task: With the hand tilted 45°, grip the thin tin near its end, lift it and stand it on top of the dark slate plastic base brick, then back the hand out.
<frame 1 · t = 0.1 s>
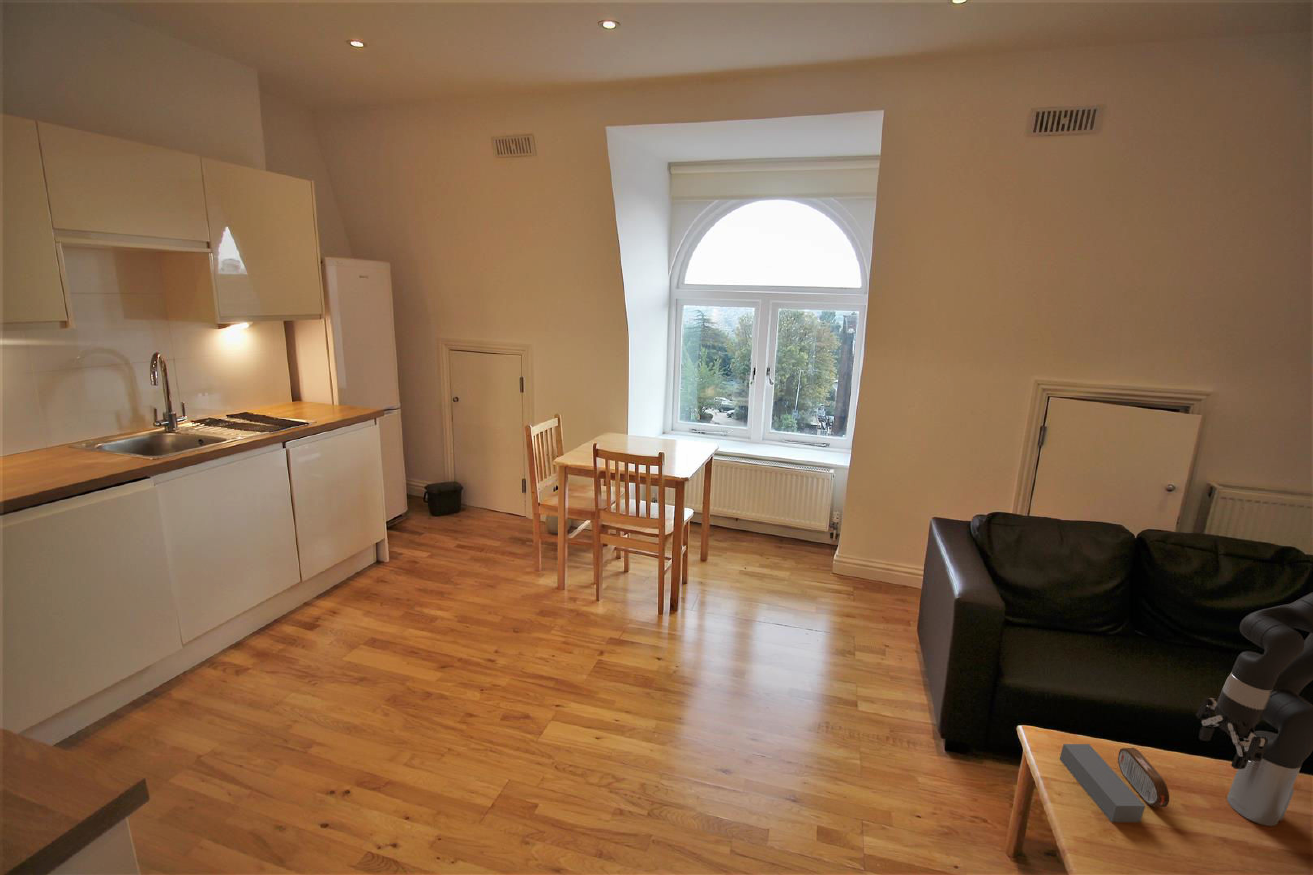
hand: (1219, 753, 144), 17 cm above the table, tool pointing down, fingers open, 8 cm apart
tin: (1137, 789, 155), on the table
base brick: (1097, 788, 155), on the table
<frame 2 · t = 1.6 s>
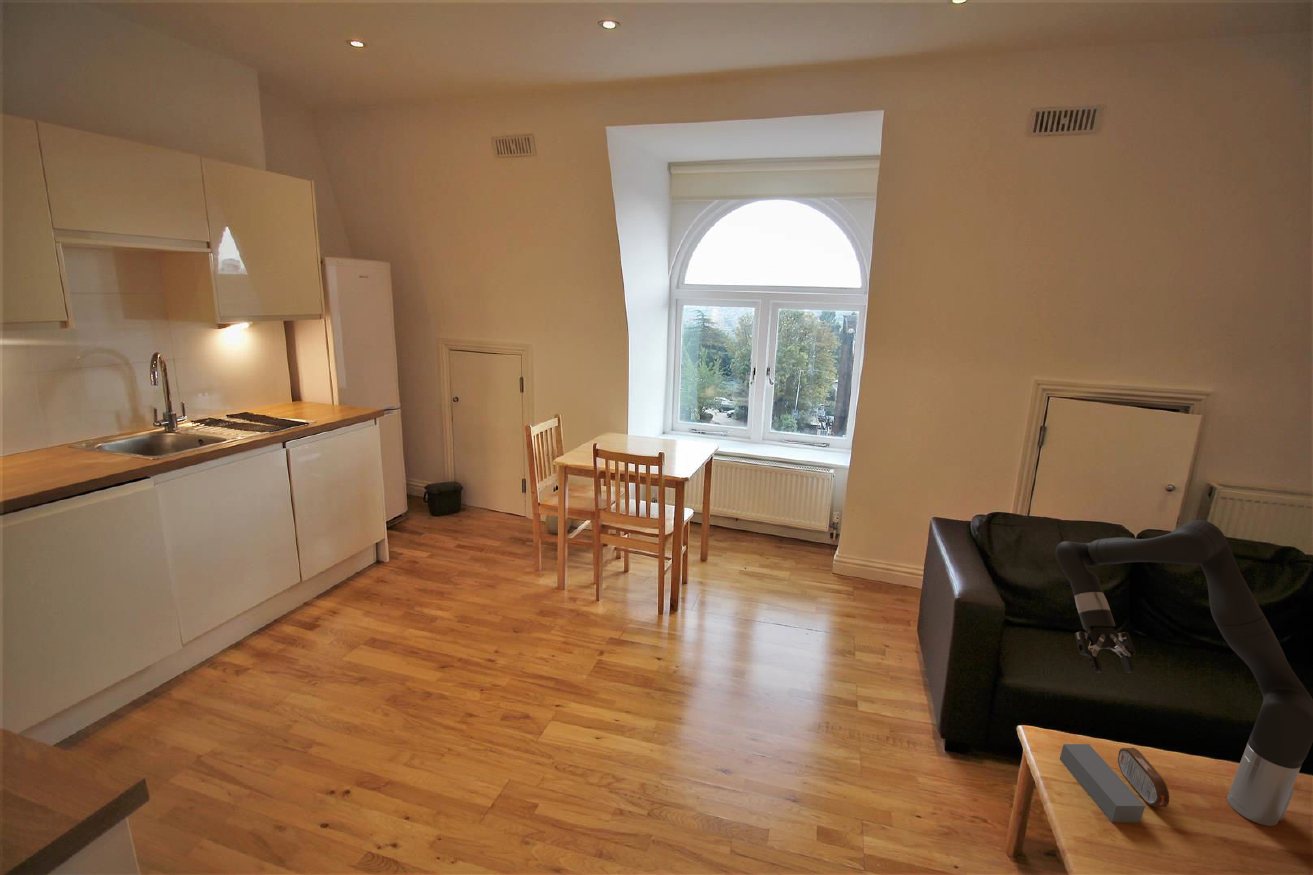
hand: (1114, 672, 163), 23 cm above the table, tool tilted 45°, fingers open, 8 cm apart
nothing on the table moved.
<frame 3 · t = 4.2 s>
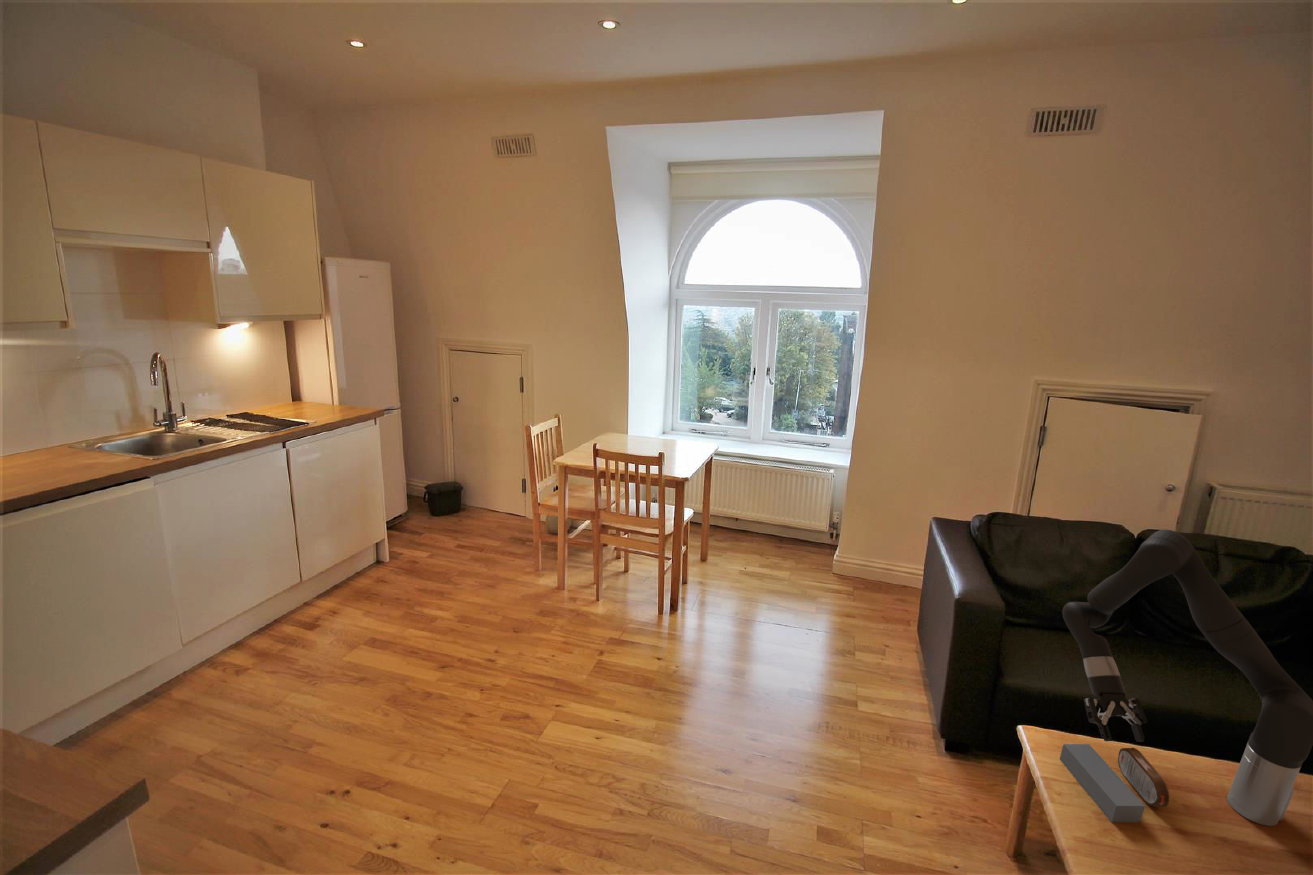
hand: (1124, 741, 159), 8 cm above the table, tool tilted 45°, fingers open, 8 cm apart
nothing on the table moved.
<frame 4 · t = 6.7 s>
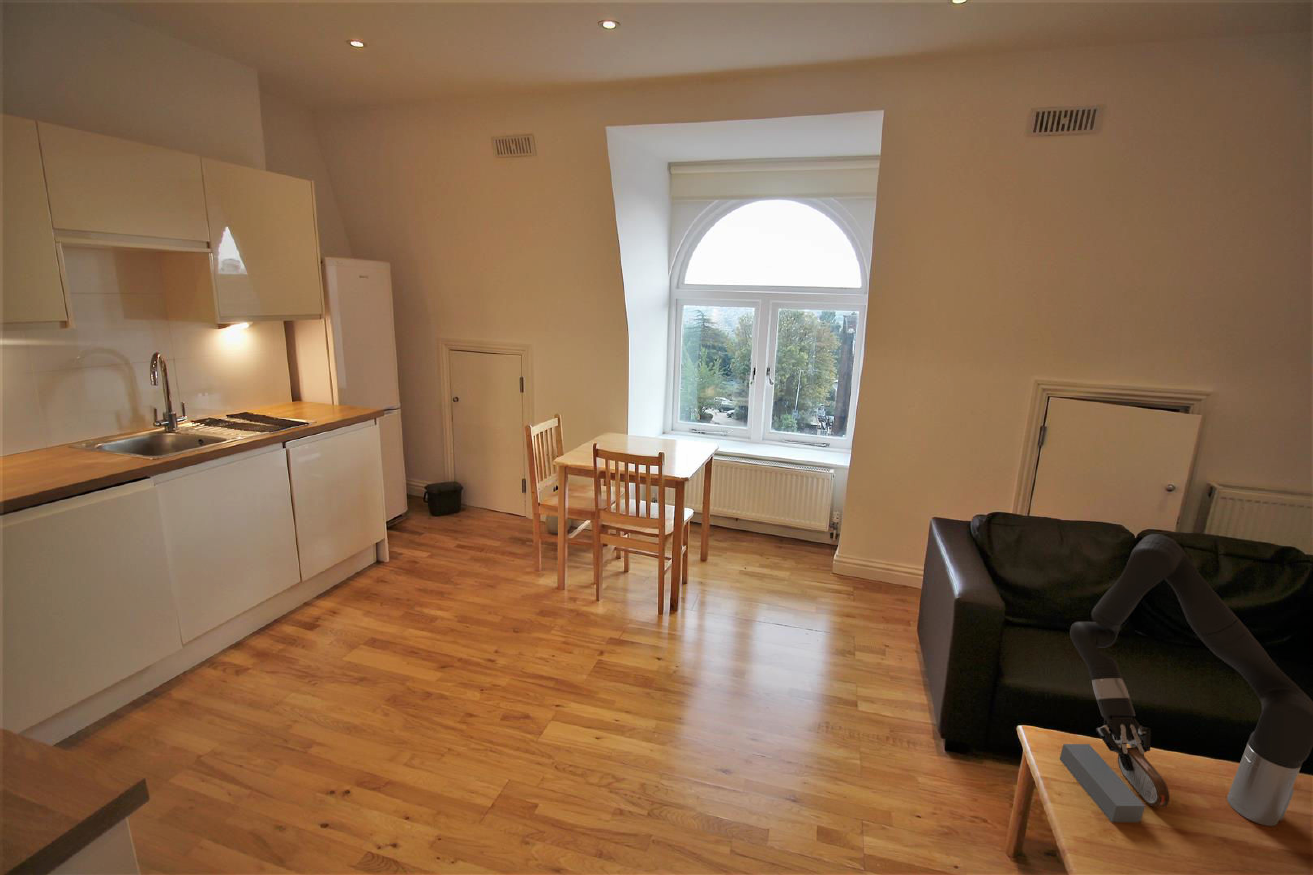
hand: (1136, 770, 155), 4 cm above the table, tool tilted 45°, fingers closed on tin, 3 cm apart
tin: (1137, 789, 155), on the table, touching gripper
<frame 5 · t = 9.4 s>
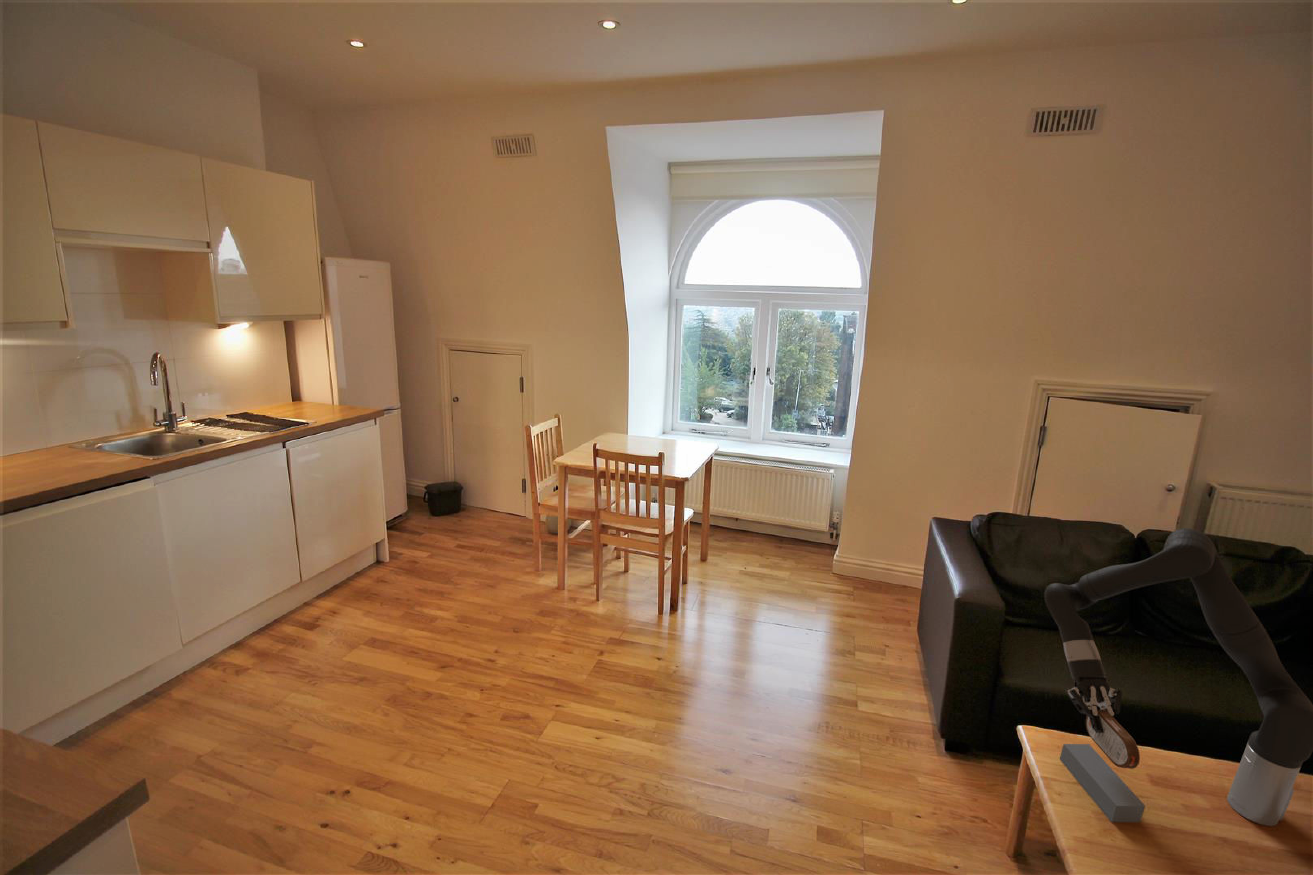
hand: (1105, 732, 152), 16 cm above the table, tool tilted 45°, fingers closed on tin, 2 cm apart
tin: (1105, 751, 152), point 11 cm above the table, touching gripper
when the fingers open (10 cm above the table, at t = 11.2 s): tin drops 1 cm, resting on base brick.
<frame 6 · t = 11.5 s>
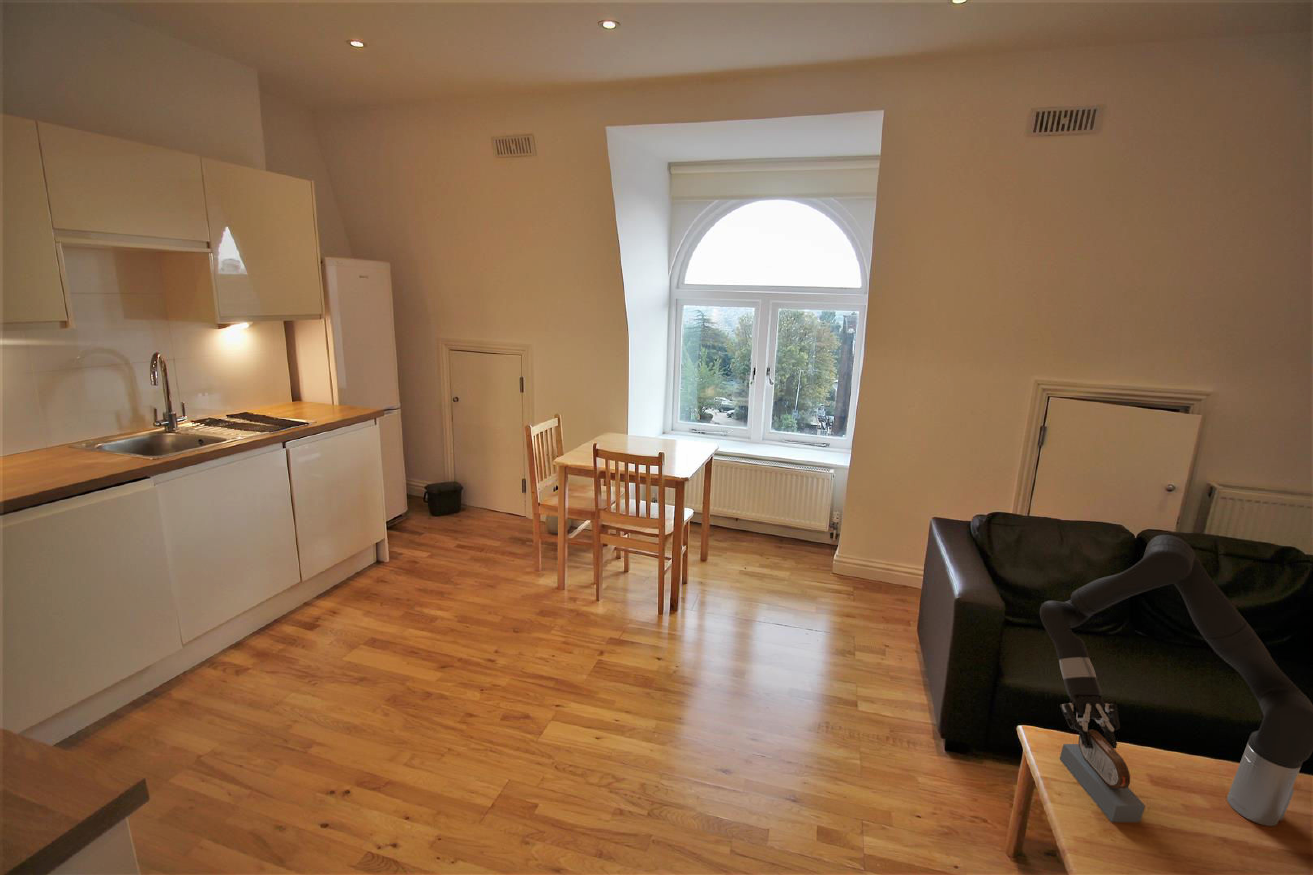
hand: (1101, 748, 154), 11 cm above the table, tool tilted 45°, fingers open, 5 cm apart
tin: (1098, 771, 154), point 5 cm above the table, touching base brick
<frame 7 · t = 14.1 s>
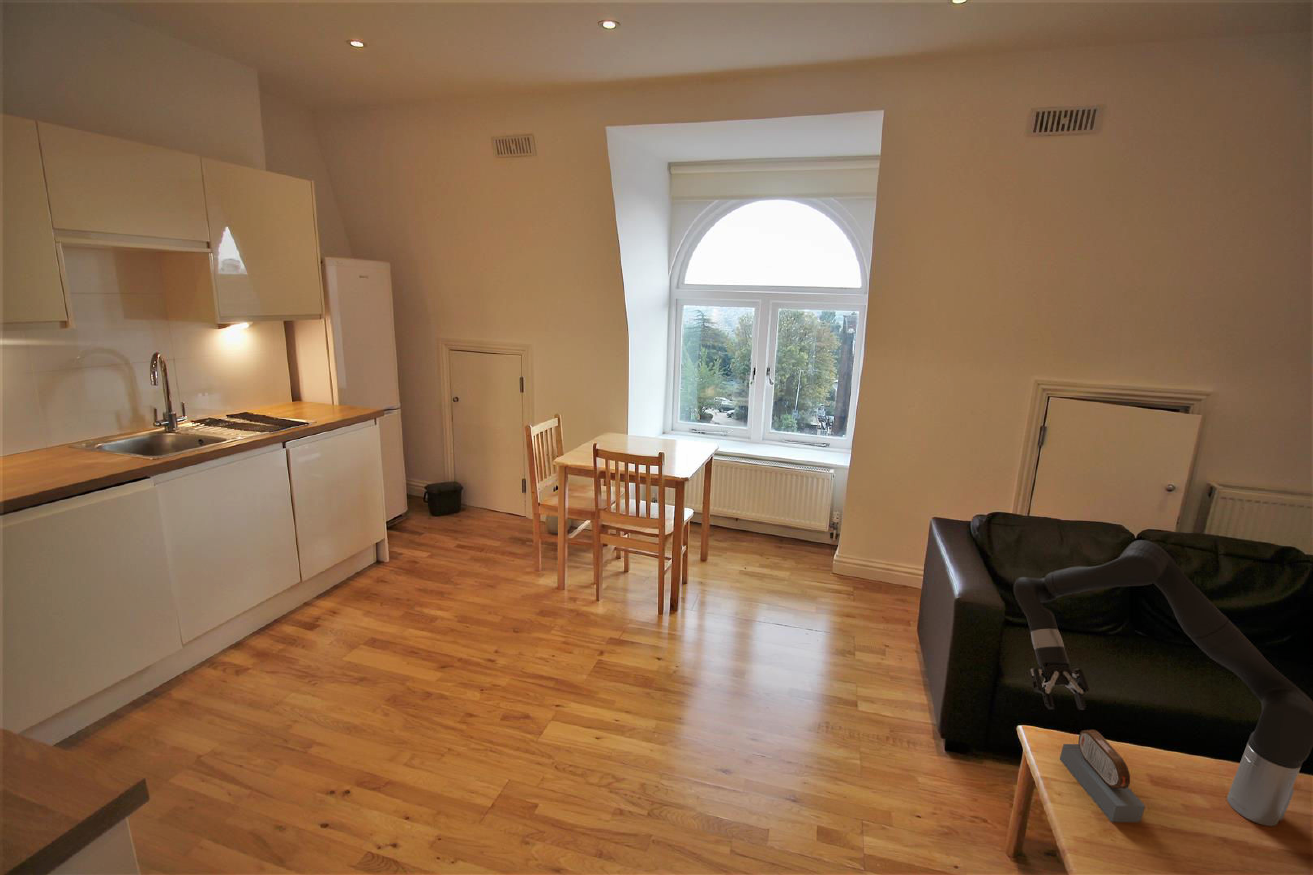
hand: (1066, 709, 166), 11 cm above the table, tool tilted 45°, fingers open, 8 cm apart
nothing on the table moved.
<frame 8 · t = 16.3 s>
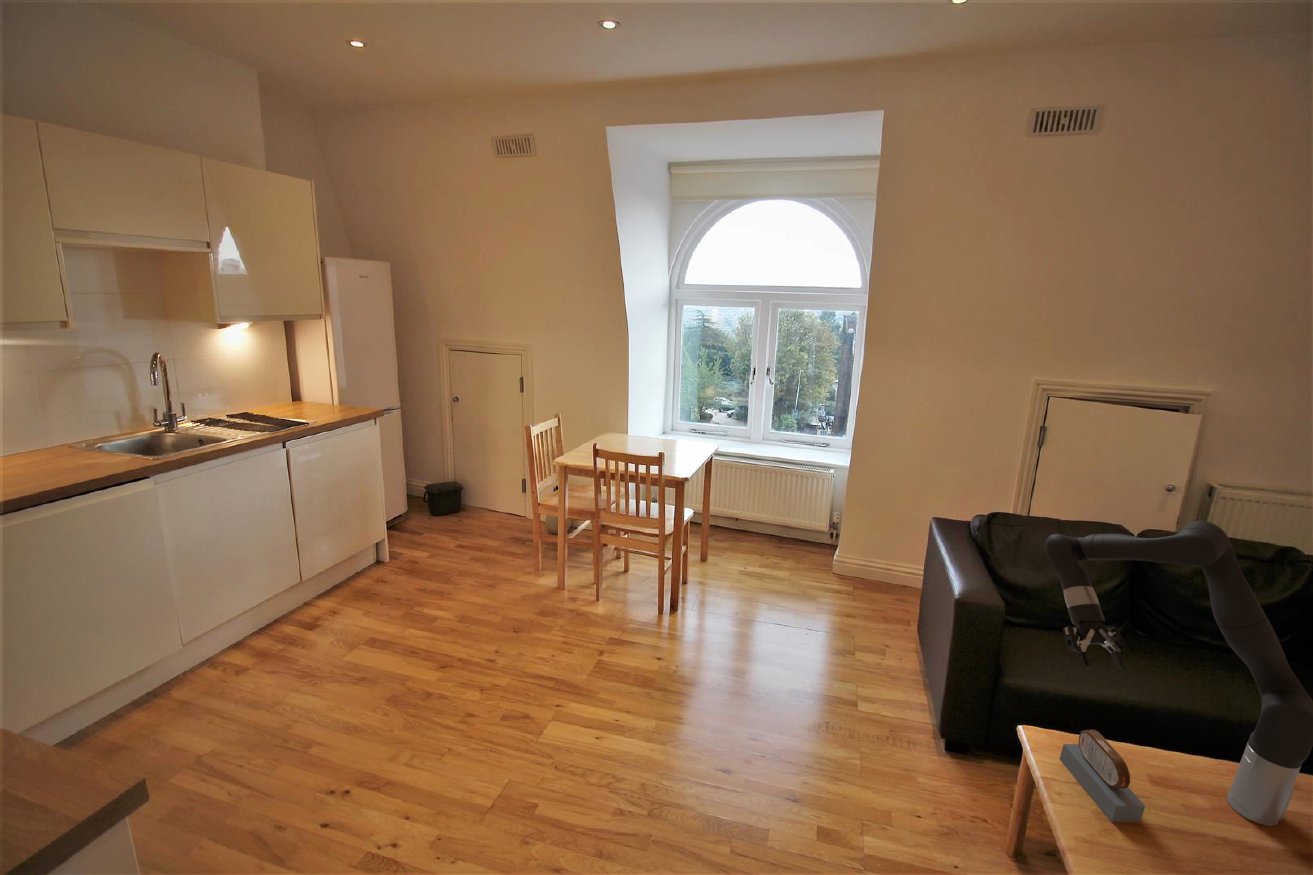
hand: (1103, 667, 159), 27 cm above the table, tool tilted 45°, fingers open, 8 cm apart
nothing on the table moved.
at the end: tin 0.8 cm off-centre on the base brick, point 4.8 cm above the base brick's base; tin tilted 0°; the gripper is holding nothing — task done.
